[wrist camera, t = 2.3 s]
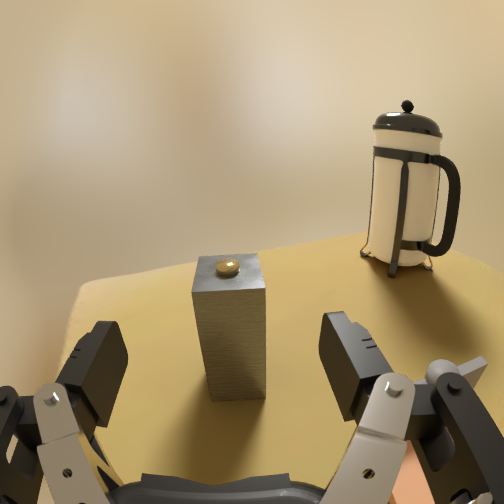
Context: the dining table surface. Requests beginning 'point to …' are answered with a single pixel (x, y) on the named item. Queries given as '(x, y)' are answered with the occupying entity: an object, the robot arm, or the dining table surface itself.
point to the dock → (411, 474)
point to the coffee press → (409, 190)
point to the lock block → (231, 325)
